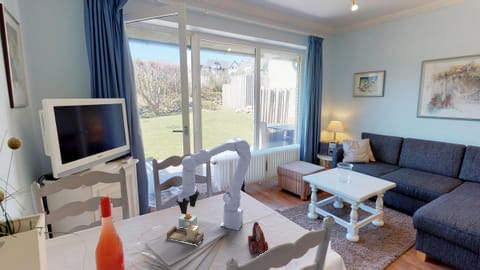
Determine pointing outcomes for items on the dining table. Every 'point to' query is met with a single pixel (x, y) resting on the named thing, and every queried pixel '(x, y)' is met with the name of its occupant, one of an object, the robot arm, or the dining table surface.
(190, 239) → the block
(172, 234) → the rail deck
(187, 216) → the orange rounded peg
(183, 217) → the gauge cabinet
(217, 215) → the dining table surface
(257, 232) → the toy fire truck
